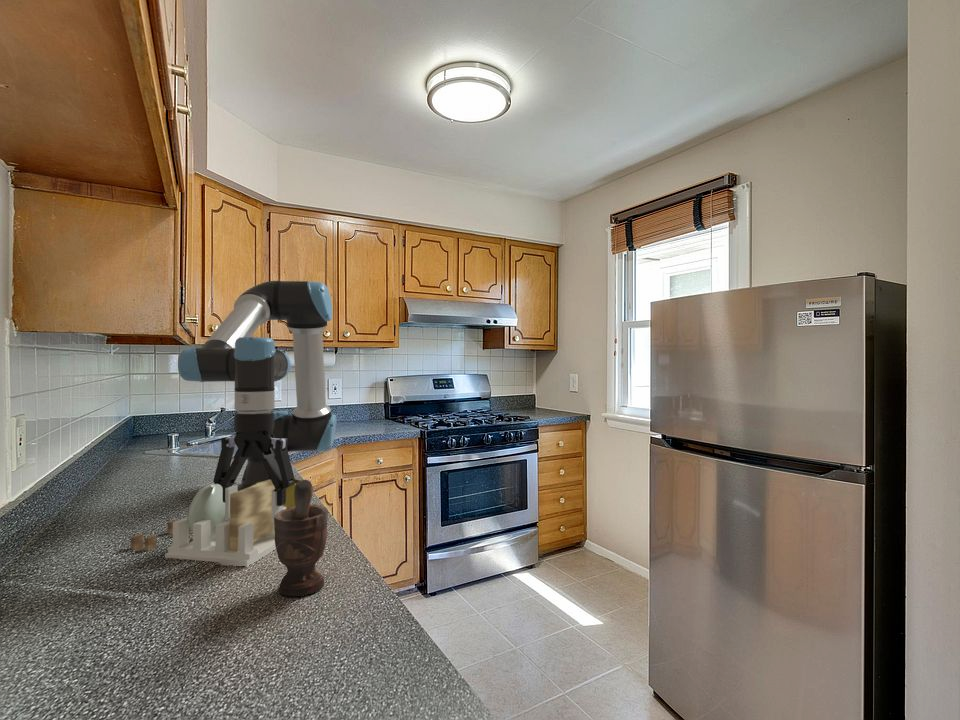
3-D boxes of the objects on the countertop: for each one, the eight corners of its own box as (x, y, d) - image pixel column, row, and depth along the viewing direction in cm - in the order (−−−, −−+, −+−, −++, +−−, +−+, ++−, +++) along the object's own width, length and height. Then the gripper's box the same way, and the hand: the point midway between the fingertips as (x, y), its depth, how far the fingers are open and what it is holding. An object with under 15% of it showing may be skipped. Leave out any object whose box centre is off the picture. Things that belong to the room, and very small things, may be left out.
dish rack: (220, 533, 108) (220, 501, 108) (292, 538, 104) (292, 506, 104) (165, 560, 93) (165, 523, 93) (246, 567, 90) (247, 529, 90)
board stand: (174, 533, 107) (174, 519, 107) (190, 534, 107) (190, 521, 107) (130, 552, 97) (130, 537, 97) (148, 553, 96) (148, 538, 96)
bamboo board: (268, 529, 104) (268, 479, 104) (274, 530, 103) (275, 479, 103) (229, 550, 92) (230, 494, 92) (237, 551, 92) (237, 494, 92)
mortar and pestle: (344, 595, 79) (345, 475, 79) (293, 613, 73) (293, 484, 73) (314, 572, 87) (315, 464, 87) (266, 588, 81) (266, 471, 82)
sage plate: (226, 527, 105) (227, 477, 105) (232, 527, 105) (232, 478, 105) (187, 546, 94) (188, 491, 94) (193, 546, 94) (194, 491, 94)
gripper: (193, 412, 96) (192, 522, 96) (293, 414, 92) (293, 529, 92) (219, 409, 104) (219, 510, 103) (314, 411, 100) (313, 517, 99)
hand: (253, 519), depth 98 cm, fingers open, 10 cm apart
